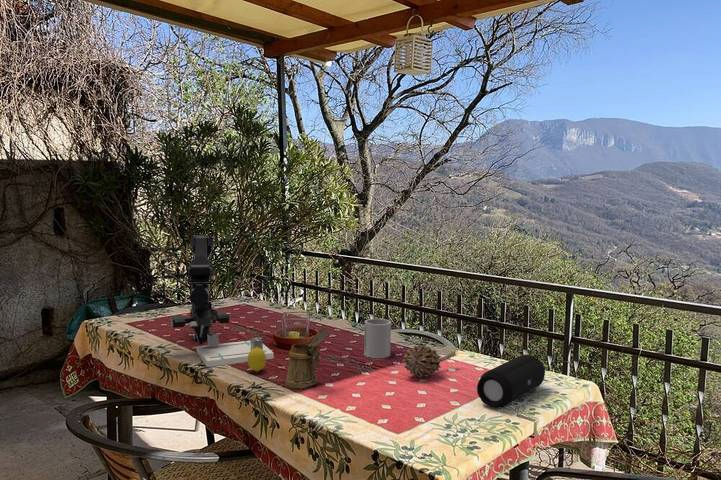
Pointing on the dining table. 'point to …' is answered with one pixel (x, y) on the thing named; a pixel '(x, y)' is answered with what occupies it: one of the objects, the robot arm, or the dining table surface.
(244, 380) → the dining table surface
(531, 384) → the portable speaker
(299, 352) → the wooden mug
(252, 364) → the lemon
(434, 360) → the pine cone
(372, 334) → the cup
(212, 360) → the slotted white panel
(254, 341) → the fader
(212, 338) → the fader
